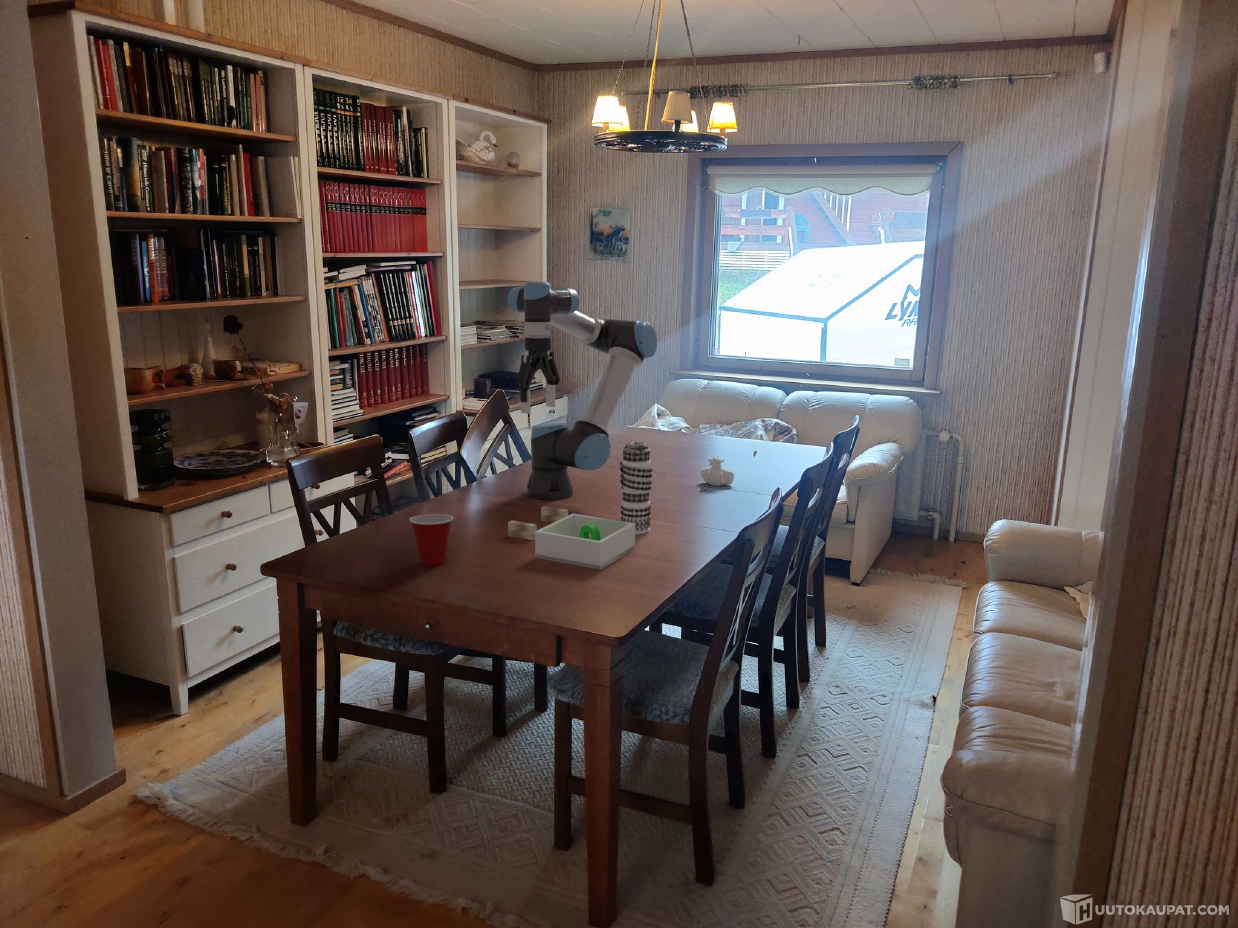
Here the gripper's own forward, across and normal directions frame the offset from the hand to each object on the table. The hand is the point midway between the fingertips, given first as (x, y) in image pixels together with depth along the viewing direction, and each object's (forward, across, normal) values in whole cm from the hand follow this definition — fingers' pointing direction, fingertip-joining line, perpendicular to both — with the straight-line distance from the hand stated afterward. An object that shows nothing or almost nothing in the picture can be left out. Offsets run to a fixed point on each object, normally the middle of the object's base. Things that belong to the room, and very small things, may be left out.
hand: (538, 410), depth 263 cm
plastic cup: (+32, -50, 0) cm, 59 cm away
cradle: (+32, -13, -8) cm, 35 cm away
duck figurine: (+32, +60, -33) cm, 76 cm away
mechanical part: (+31, -25, -30) cm, 50 cm away
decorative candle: (+32, 0, -32) cm, 45 cm away
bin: (+32, -25, -30) cm, 50 cm away
